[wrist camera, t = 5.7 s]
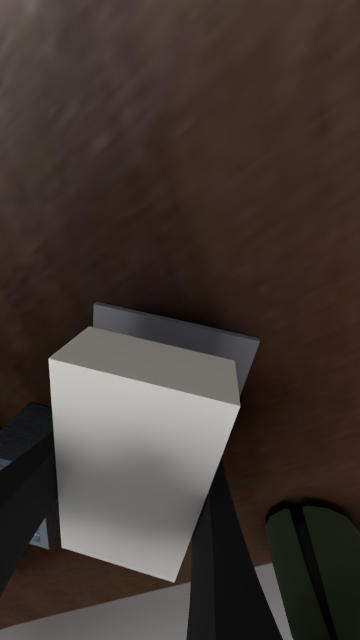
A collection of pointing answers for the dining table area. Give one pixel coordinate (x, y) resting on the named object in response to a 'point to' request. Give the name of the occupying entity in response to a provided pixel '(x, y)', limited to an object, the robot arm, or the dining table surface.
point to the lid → (137, 445)
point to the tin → (18, 440)
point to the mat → (179, 335)
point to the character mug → (317, 573)
